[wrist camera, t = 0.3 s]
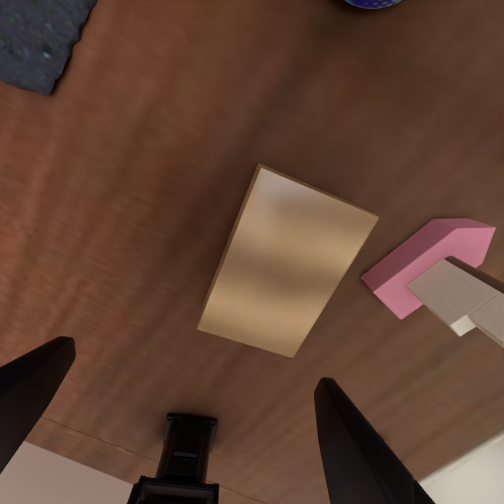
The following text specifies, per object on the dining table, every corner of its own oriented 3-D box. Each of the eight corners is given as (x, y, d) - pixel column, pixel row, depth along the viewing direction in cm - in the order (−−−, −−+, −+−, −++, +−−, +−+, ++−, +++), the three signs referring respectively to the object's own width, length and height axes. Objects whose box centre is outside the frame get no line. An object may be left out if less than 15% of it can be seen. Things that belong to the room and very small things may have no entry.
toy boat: (385, 302, 25) (510, 445, 13) (359, 276, 24) (470, 407, 12) (478, 234, 23) (744, 335, 11) (454, 201, 21) (723, 272, 9)
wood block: (286, 325, 26) (292, 358, 22) (205, 299, 25) (196, 329, 21) (354, 203, 21) (380, 217, 17) (258, 162, 20) (260, 166, 16)
